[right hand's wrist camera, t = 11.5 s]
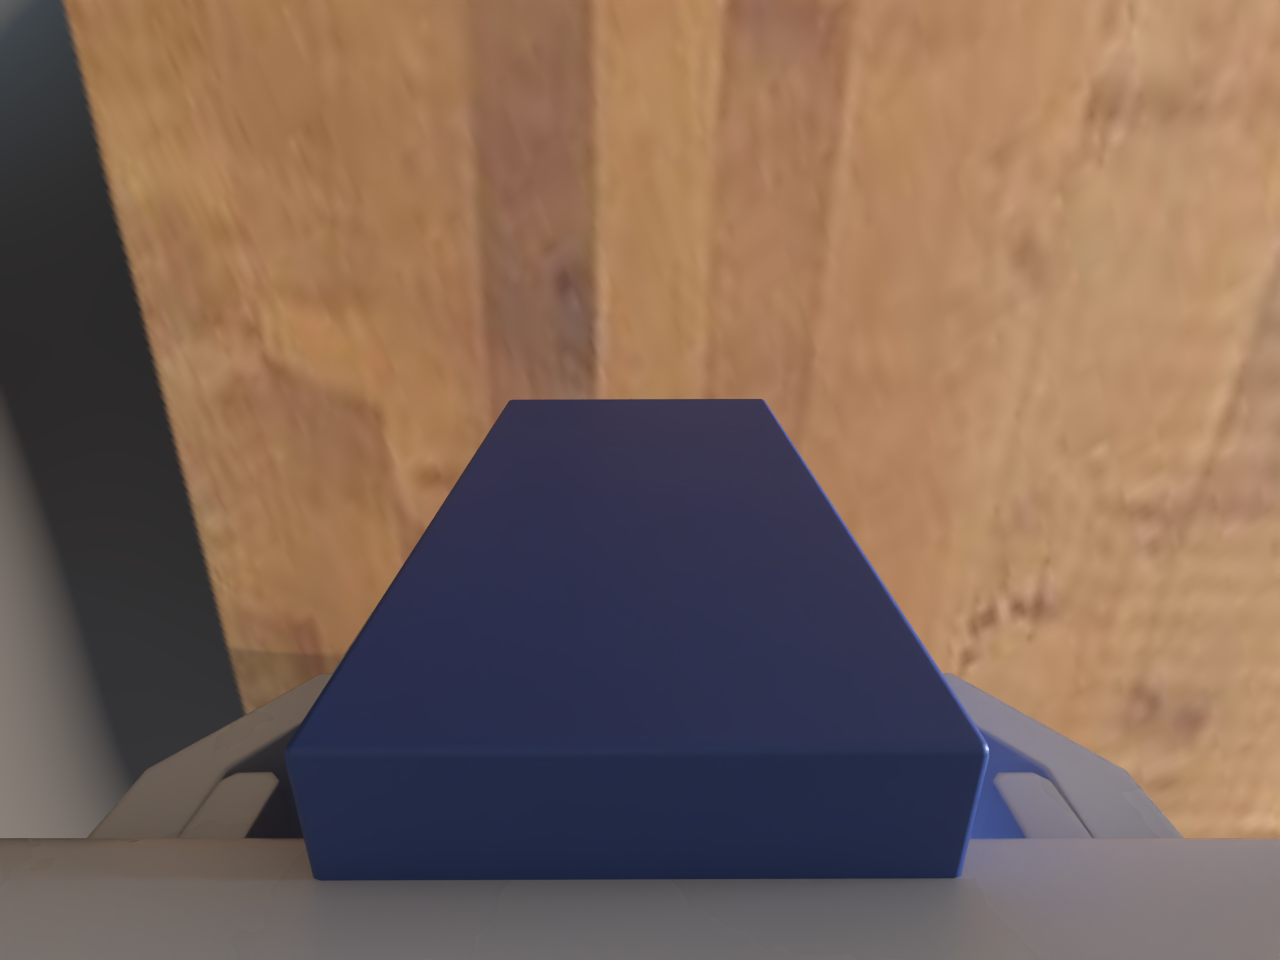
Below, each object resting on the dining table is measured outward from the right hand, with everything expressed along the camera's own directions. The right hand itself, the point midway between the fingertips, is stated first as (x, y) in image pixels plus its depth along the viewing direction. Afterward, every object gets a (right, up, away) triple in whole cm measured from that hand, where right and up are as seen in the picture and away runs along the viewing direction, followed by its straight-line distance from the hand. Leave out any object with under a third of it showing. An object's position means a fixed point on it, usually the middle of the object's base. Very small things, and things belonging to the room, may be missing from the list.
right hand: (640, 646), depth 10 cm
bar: (0, -8, +7) cm, 11 cm away
